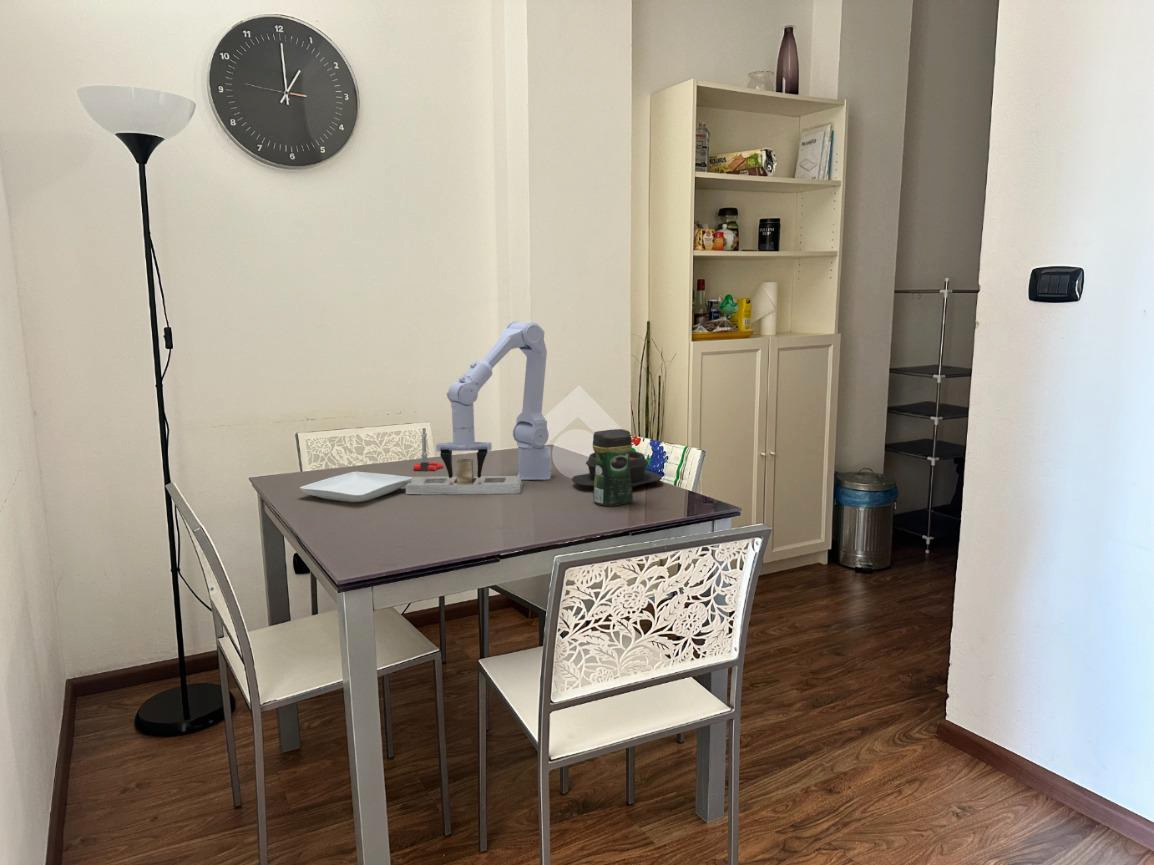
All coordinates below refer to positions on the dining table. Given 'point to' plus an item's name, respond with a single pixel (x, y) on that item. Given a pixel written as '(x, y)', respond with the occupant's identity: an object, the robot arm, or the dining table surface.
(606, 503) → the coffee jar
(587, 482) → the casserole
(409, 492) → the grey slotted board
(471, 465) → the peg
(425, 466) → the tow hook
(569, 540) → the dining table surface
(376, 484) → the salad plate
